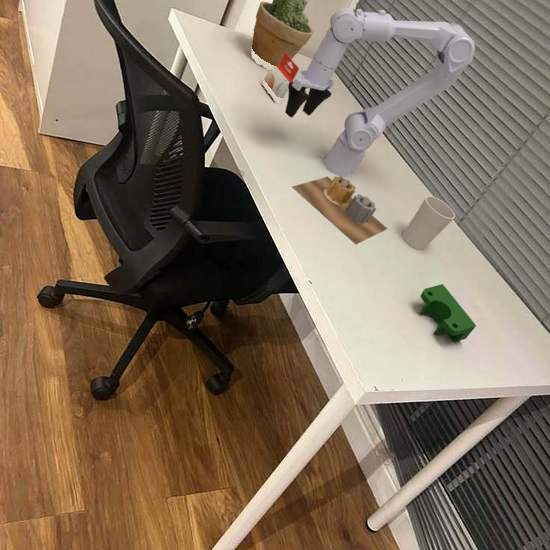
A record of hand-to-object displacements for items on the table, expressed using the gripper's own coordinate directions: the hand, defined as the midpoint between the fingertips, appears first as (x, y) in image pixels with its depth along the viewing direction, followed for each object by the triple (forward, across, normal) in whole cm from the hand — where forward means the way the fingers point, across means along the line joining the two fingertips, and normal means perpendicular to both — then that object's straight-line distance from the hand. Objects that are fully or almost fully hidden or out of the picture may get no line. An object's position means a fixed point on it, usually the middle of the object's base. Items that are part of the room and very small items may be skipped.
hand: (297, 114), depth 134 cm
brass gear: (+9, +2, +21) cm, 23 cm away
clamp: (+10, +13, +57) cm, 60 cm away
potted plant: (+10, -39, -39) cm, 56 cm away
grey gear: (+9, +2, +27) cm, 29 cm away
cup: (+10, -7, +40) cm, 42 cm away
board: (+10, +5, +24) cm, 26 cm away
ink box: (+10, -22, -22) cm, 33 cm away
